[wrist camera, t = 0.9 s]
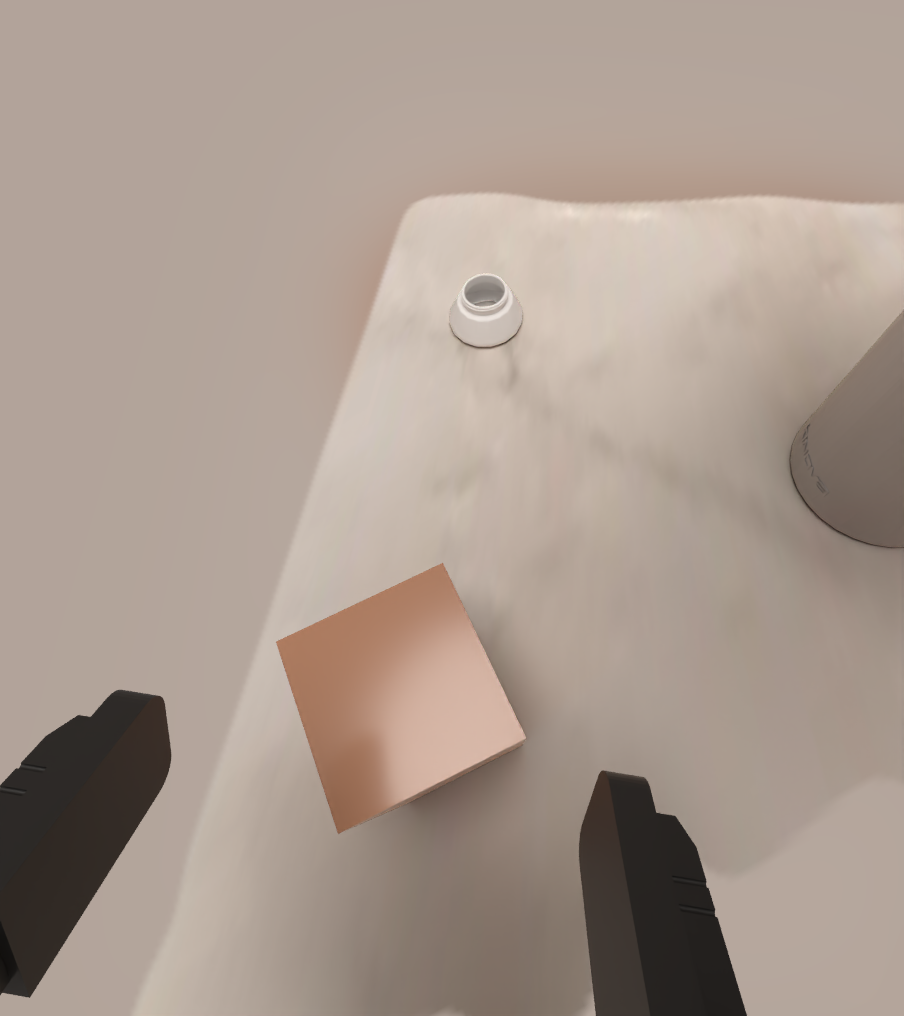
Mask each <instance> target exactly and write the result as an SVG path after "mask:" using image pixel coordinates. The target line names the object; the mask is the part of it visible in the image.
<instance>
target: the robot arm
mask: <svg viewBox="0 0 904 1016" xmlns="http://www.w3.org/2000/svg"><path fill="white" fill-rule="evenodd" d="M790 462H791V469H792V475H793V478H794V481H795V483H796V486H797V489H798V491H799V492H800V494H801V495H802V497H803V498H804V500H805V501H806V503H807V504H808V505H809V507H810V508H811V509H812V510H813V511H814V512H815V513H816V514H817V515H818V516H819V517H820V518H821V519H823V520H824V521H825V522H827V523H828V524H829V525H831V526H832V527H833V528H835V529H836V530H838V531H840V532H842V533H844V534H846V535H848V536H850V537H852V538H854V539H857V540H860V541H863V542H866V543H870V544H873V545H879V546H886V547H904V310H903V311H902V313H901V314H900V315H899V316H898V317H897V318H896V319H895V321H894V322H893V323H892V324H891V325H890V326H889V328H888V329H887V330H886V331H885V332H884V333H883V334H882V336H881V337H880V338H879V339H878V340H877V341H876V342H875V344H874V345H873V346H872V347H871V348H870V349H869V351H868V352H867V353H866V354H865V355H864V356H863V357H862V359H861V360H860V361H859V362H858V363H857V364H856V365H855V367H854V368H853V369H852V370H851V371H850V372H849V374H848V375H847V376H846V377H845V378H844V379H843V380H842V382H841V383H840V384H839V385H838V386H837V387H836V388H835V389H834V391H833V392H832V393H831V394H830V395H829V396H828V398H827V399H826V400H825V401H824V402H823V403H822V404H821V406H820V407H819V408H818V409H817V410H816V411H815V413H814V414H813V415H812V416H811V417H810V418H809V420H808V421H807V422H806V423H805V424H804V426H803V427H802V428H801V429H800V431H799V432H798V433H797V435H796V438H795V440H794V443H793V445H792V450H791V458H790ZM170 763H171V748H170V740H169V732H168V724H167V717H166V710H165V703H164V700H163V698H162V697H160V696H156V695H150V694H143V693H138V692H132V691H125V690H117V691H115V692H114V693H112V694H111V695H110V696H109V697H108V698H107V699H106V700H105V701H104V702H103V704H102V705H101V706H100V707H99V708H98V709H97V710H96V712H95V713H94V714H93V715H92V716H91V717H87V716H80V715H78V716H76V717H75V718H73V719H72V720H70V721H69V722H67V723H65V724H64V725H62V726H61V727H59V728H58V729H56V730H55V731H53V732H52V733H50V734H48V735H47V736H46V737H45V738H44V739H43V740H42V741H41V742H40V743H39V744H38V745H37V747H35V749H34V750H33V751H32V752H31V753H30V754H29V755H28V756H27V757H26V758H25V759H24V760H23V761H22V762H21V766H20V768H19V769H15V770H14V771H13V772H12V773H11V774H10V776H9V777H8V778H7V779H6V780H5V781H4V782H3V783H2V784H1V785H0V995H1V993H7V994H13V995H18V996H24V997H29V998H30V996H31V995H32V993H33V992H34V990H35V989H36V987H37V985H38V984H39V982H40V981H41V979H42V978H43V976H44V974H45V973H46V971H47V969H48V968H49V966H50V965H51V963H52V962H53V960H54V958H55V957H56V955H57V954H58V952H59V951H60V949H61V947H62V946H63V944H64V943H65V941H66V939H67V938H68V936H69V935H70V933H71V932H72V930H73V928H74V927H75V925H76V924H77V922H78V920H79V919H80V917H81V916H82V914H83V912H84V911H85V909H86V908H87V906H88V904H89V903H90V901H91V900H92V898H93V897H94V895H95V893H96V892H97V890H98V889H99V887H100V886H101V884H102V882H103V881H104V879H105V878H106V876H107V874H108V873H109V871H110V870H111V868H112V866H113V865H114V863H115V862H116V860H117V858H118V857H119V855H120V854H121V852H122V851H123V849H124V848H125V846H126V844H127V843H128V841H129V840H130V838H131V836H132V835H133V833H134V832H135V830H136V828H137V827H138V825H139V824H140V822H141V821H142V819H143V817H144V816H145V814H146V813H147V811H148V809H149V808H150V806H151V805H152V803H153V802H154V800H155V798H156V797H157V795H158V794H159V792H160V790H161V788H162V787H163V785H164V782H165V780H166V777H167V775H168V771H169V768H170ZM579 861H580V872H581V881H582V890H583V899H584V909H585V918H586V927H587V936H588V946H589V955H590V964H591V974H592V983H593V992H594V1001H595V1011H596V1016H747V1014H746V1011H745V1008H744V1004H743V1001H742V998H741V995H740V991H739V988H738V984H737V981H736V978H735V974H734V971H733V968H732V964H731V961H730V958H729V955H728V951H727V948H726V945H725V942H724V938H723V935H722V932H721V928H720V925H719V921H718V918H717V917H715V908H714V905H713V902H712V898H711V895H710V891H709V889H708V888H707V887H706V878H705V875H704V871H703V868H702V865H701V861H700V858H699V855H698V851H697V848H696V846H695V845H694V843H693V842H692V840H691V839H690V837H689V836H688V834H687V833H686V831H685V830H684V828H683V827H682V825H681V824H680V822H679V821H678V819H677V818H676V816H672V815H666V814H660V813H656V810H655V806H654V802H653V798H652V794H651V790H650V786H649V784H648V781H647V780H646V779H645V778H644V777H639V776H633V775H627V774H621V773H615V772H608V771H601V772H600V774H599V776H598V779H597V782H596V785H595V788H594V791H593V794H592V797H591V800H590V803H589V806H588V809H587V812H586V815H585V818H584V820H583V824H582V828H581V833H580V843H579Z"/></svg>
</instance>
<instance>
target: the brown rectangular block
mask: <svg viewBox="0 0 904 1016" xmlns="http://www.w3.org/2000/svg"><path fill="white" fill-rule="evenodd" d="M276 643H277V646H278V649H279V652H280V656H281V659H282V662H283V665H284V668H285V671H286V674H287V677H288V680H289V683H290V686H291V690H292V693H293V696H294V699H295V702H296V705H297V708H298V711H299V714H300V717H301V720H302V724H303V727H304V730H305V733H306V736H307V739H308V742H309V745H310V748H311V751H312V754H313V758H314V761H315V764H316V767H317V770H318V773H319V776H320V779H321V782H322V785H323V788H324V792H325V795H326V798H327V801H328V804H329V807H330V810H331V813H332V816H333V819H334V822H335V826H336V829H337V832H338V834H339V833H341V832H343V831H346V830H348V829H350V828H352V827H355V826H357V825H359V824H362V823H364V822H366V821H369V820H371V819H373V818H375V817H378V816H380V815H382V814H385V813H387V812H389V811H392V810H394V809H396V808H398V807H401V806H403V805H405V804H408V803H410V802H412V801H414V800H416V799H417V798H419V797H421V796H423V795H425V794H427V793H429V792H431V791H433V790H435V789H437V788H439V787H441V786H443V785H445V784H447V783H449V782H451V781H453V780H455V779H457V778H459V777H461V776H463V775H465V774H467V773H469V772H471V771H473V770H475V769H477V768H479V767H481V766H483V765H484V764H486V763H488V762H490V761H492V760H494V759H496V758H498V757H500V756H502V755H504V754H506V753H508V752H510V751H512V750H514V749H516V748H518V747H520V746H522V745H523V743H524V742H525V740H526V736H525V734H524V732H523V730H522V728H521V726H520V724H519V722H518V719H517V717H516V715H515V713H514V711H513V709H512V707H511V705H510V703H509V701H508V699H507V696H506V694H505V692H504V690H503V688H502V686H501V684H500V682H499V680H498V678H497V676H496V673H495V671H494V669H493V667H492V665H491V663H490V661H489V659H488V657H487V655H486V653H485V650H484V648H483V646H482V644H481V642H480V640H479V638H478V636H477V634H476V632H475V630H474V627H473V625H472V623H471V621H470V619H469V617H468V615H467V613H466V611H465V609H464V607H463V604H462V602H461V600H460V598H459V596H458V594H457V592H456V590H455V588H454V586H453V584H452V581H451V579H450V577H449V575H448V573H447V571H446V569H445V567H444V565H443V563H442V564H440V565H438V566H435V567H433V568H431V569H429V570H427V571H425V572H423V573H421V574H419V575H416V576H414V577H412V578H410V579H408V580H406V581H404V582H402V583H399V584H397V585H395V586H393V587H391V588H389V589H387V590H385V591H383V592H380V593H378V594H376V595H374V596H372V597H370V598H368V599H366V600H363V601H361V602H359V603H357V604H355V605H353V606H351V607H349V608H347V609H344V610H342V611H340V612H338V613H336V614H334V615H332V616H330V617H328V618H325V619H323V620H321V621H319V622H317V623H315V624H313V625H311V626H308V627H306V628H304V629H302V630H300V631H298V632H296V633H294V634H292V635H289V636H287V637H285V638H283V639H281V640H279V641H277V642H276Z"/></svg>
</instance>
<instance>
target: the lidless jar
mask: <svg viewBox="0 0 904 1016" xmlns="http://www.w3.org/2000/svg"><path fill="white" fill-rule="evenodd" d="M482 301H494V302H497V303H496V304H494V305H491V306H487V307H480V306H475V305H474V304H476V303H479V302H482ZM449 322H450V325H451V328H452V330H453V332H454V334H455V335H456V336H457V337H458V338H459V339H461V340H462V341H463V342H465V343H468V344H470V345H473V346H476V347H492V346H495V345H498V344H501V343H504V342H506V341H507V340H509V339H510V338H511V337H512V336H514V335H515V334H516V333H517V331H518V329H519V327H520V326H521V324H522V306H521V304H520V302H519V300H518V298H517V297H516V296H515V294H514V293H513V292H512V290H511V289H510V288H509V287H508V286H507V285H506V283H505V282H504V280H503V279H502V278H500V277H498V276H496V275H493V274H486V273H485V274H478V275H475V276H473V277H471V278H470V279H468V280H467V281H466V282H465V284H464V285H463V287H462V289H461V291H460V293H459V294H458V296H457V298H456V299H455V301H454V303H453V305H452V306H451V308H450V317H449Z"/></svg>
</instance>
